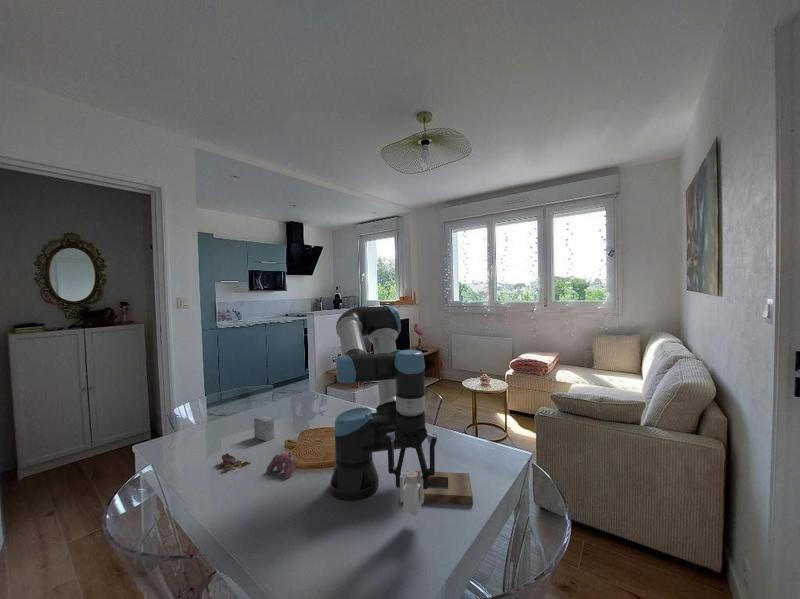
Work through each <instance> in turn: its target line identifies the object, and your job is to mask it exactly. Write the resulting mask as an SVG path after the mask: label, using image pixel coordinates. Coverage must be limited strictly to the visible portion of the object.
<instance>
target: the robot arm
mask: <svg viewBox="0 0 800 599" xmlns="http://www.w3.org/2000/svg"><path fill="white" fill-rule="evenodd" d="M335 324H336V325H335V327H336V329H335V332H336V334H337V336H338V337H339V341H340V350H341V355H338V356H337V358H336V362H335V363H336V364H335V366H336V379H337V380H336V381H337V382H338V383H340V384H354V383H365V382H376V381H377V390H378V398H379V403H378V404H377V406H376V408H375V412H372V410H371V409H370V408H368V407H355V408H354V407H353V408H351V409H348V410H345V411H343V412H341V413H339V415H338V416H337V417H336V419H335V421H334V430H333V433H334V449H335V450H334V457H335V458H334V460H335V461H334V462H335V464H334V467H333V471H332V474H331V478H330V483H329V487H330V488H329V490H330V493H331V494H332V496H333V497H335V498H336V499H339V500H343V501H358V500H363V499H366V498H369V497H370V496H372V495H373V494H375V492H377V490H378V489H379V486H380V485H379V484H380V483H379V479H380V478H379V474H378V470H377V469H376V468H377V467H376V466H375V463H374V462H375V461H374V458H373V453H377V452H378V453H379V452H385V451H387V464H388V465H387V467H388V468H387V470H388V473H389V474H393V475H394V476H395V487H396V489H399V497H400V499H399V501H400V503H403V488H404V483H405V472H404V471H402V468H403V462H404V459H405V454H406V449H409V448H413V449H415V452H416V455H417V459H418V463H419V466H420V471H422V473H421V475H420V503H421V505H423V504H425V502H424V489H427V488H429V484H428V477H429V476H434V474H435V472H436V471H435V470H436V467H435V466H436V458H435V457H436V455H435V450H436V449H435V448H436V444H437V441H438V436H437V433H433V434H432V433H429V432H428V430H427V428H426V412H425V410H426V393H425V391H426V390H425V388H426V387H425V386H426V385H425V379H426V378H425V368H426V363H425V356H424V353H423V352H422V351H421V350H416V349H404V350H403V349H402V350H400V349H397V344H396V340H397V339H398V337H399V334H400V333H401V331H402V324H401V316H400V313H399V311H398V309H397V308H396V307H395V306H393V305H382V306H381V305H378V306H376V305H375V306H355V307H352V308H349V309H347V310H346V311H345V312H343V313H342V314H341V315H340V316H339V317H338V319H337V321H336V323H335ZM365 336H366V337H368V338H367V339H368V341H369V342H370V343H371V344H372V345H373V353H368V352H367V348H366V344H365V342H364V339H363V337H365ZM426 439H427V443H428V444H429V468H428V466H427V463H426V456H425V454H424V448H423V442H424V441H425V440H426ZM395 450H400V451H399V455H398V460H397V465H396V466H395Z"/></svg>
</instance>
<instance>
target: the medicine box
mask: <svg viewBox="0 0 800 599" xmlns="http://www.w3.org/2000/svg"><path fill="white" fill-rule="evenodd" d="M253 423H254V424H253V430H254V432H253V434H254V438H255V439H257V440H260V441H264V442H268V441H270V440H272V439H274V438H275V420H274V417H271V416H266V415H259V416H257V417H255V418H253Z"/></svg>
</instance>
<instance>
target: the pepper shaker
mask: <svg viewBox="0 0 800 599" xmlns="http://www.w3.org/2000/svg"><path fill="white" fill-rule="evenodd" d="M407 471H408V472H407ZM407 471H406V472H405V478H406V484H405V486H404V488H403V502H402V504H403V505H402V508H403V513H406V514H409V515H415V516H418V514H419V512H420V510H421V508H422V504H421V503H420V484H418V473H417V472H416V471H417V470H407Z"/></svg>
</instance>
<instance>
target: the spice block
mask: <svg viewBox="0 0 800 599" xmlns="http://www.w3.org/2000/svg"><path fill="white" fill-rule="evenodd" d="M408 471H409V470H406V473H407V472H408ZM415 471H416V472H417V473H418V484H420V475H421V473H422V471H421V470H415ZM405 484H406V477H404V486H405ZM428 485H438V486H440V485H441V486H442V485H443V486H447V488H433V487H431V488H429V487H428V488H427V489H424V503H431V504H432V503H433V504H452V505H467V506H468V505H469V506H470V505H471V506H474V499H473V498H474V496H473V490H472V489H473V488H472V483H471V475H470V473H469V472H467V473H465V472H447V471H446V472H445V471H444V472H443V471H435V474H434V476H429V477H428Z"/></svg>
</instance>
